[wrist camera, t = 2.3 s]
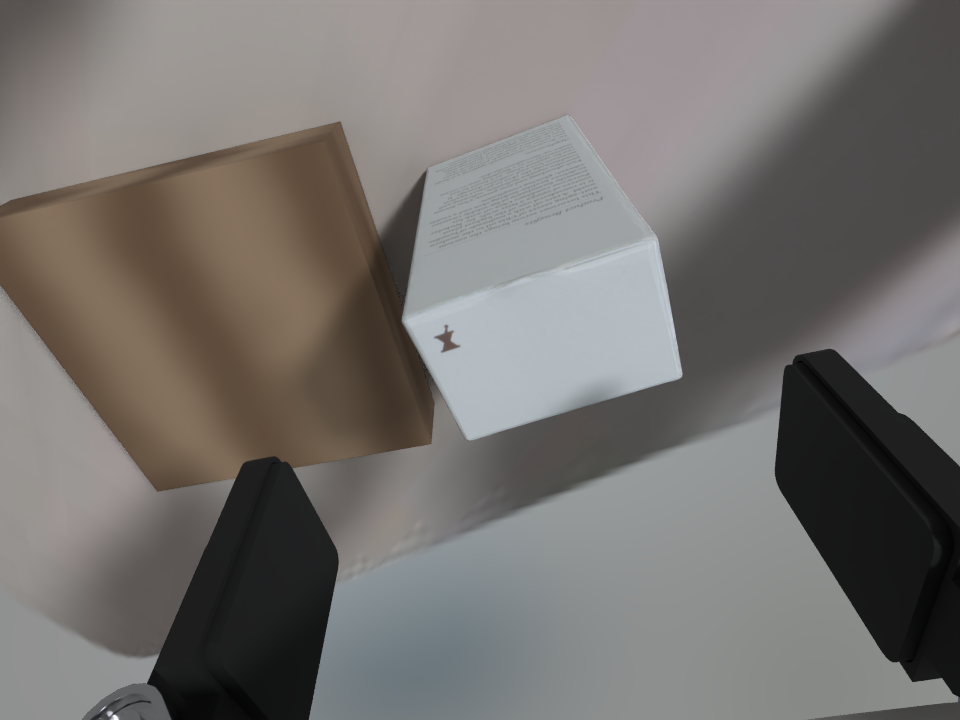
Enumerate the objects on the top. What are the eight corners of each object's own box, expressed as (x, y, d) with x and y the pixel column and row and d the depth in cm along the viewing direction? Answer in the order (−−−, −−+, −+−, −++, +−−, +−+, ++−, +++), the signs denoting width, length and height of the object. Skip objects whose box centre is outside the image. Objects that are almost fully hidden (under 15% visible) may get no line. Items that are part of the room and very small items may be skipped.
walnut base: (340, 121, 22) (323, 141, 20) (434, 403, 30) (431, 443, 27) (10, 200, 24) (-43, 228, 21) (181, 449, 31) (157, 491, 29)
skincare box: (463, 258, 25) (459, 448, 16) (425, 165, 23) (391, 318, 13) (600, 212, 24) (688, 384, 14) (573, 109, 22) (658, 229, 12)
